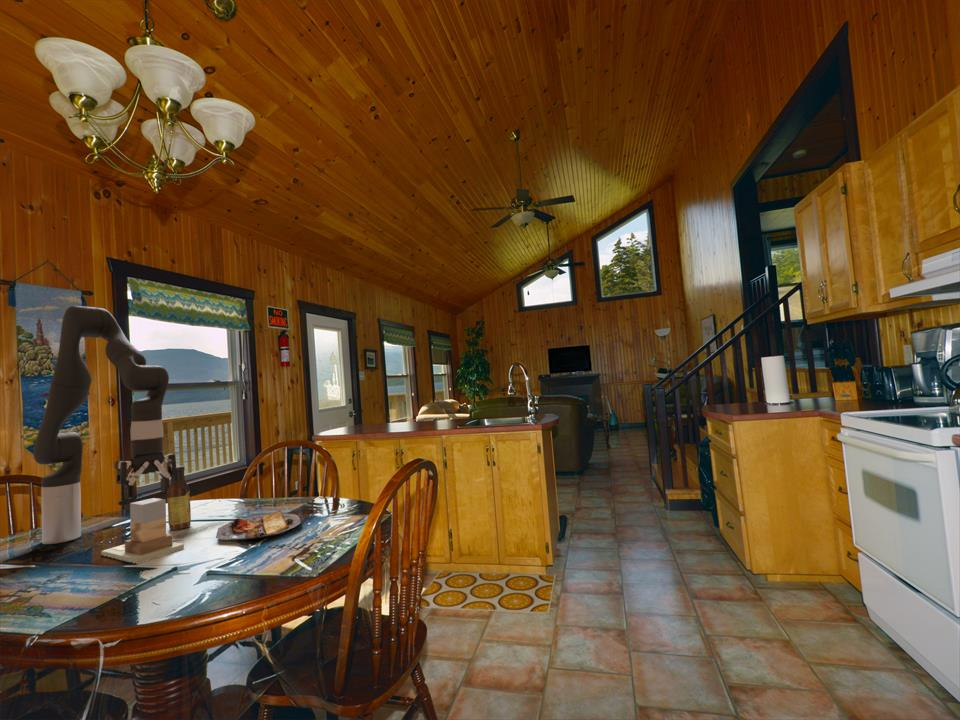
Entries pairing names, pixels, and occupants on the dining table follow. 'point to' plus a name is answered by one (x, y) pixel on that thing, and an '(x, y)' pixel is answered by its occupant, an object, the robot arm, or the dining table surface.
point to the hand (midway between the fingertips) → (147, 495)
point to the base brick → (148, 545)
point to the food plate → (258, 526)
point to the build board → (129, 557)
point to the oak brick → (148, 530)
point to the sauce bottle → (178, 501)
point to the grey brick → (147, 510)
